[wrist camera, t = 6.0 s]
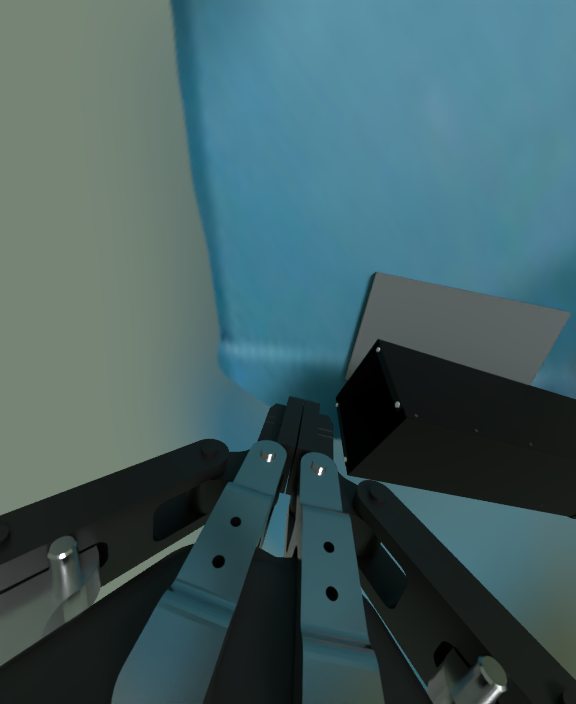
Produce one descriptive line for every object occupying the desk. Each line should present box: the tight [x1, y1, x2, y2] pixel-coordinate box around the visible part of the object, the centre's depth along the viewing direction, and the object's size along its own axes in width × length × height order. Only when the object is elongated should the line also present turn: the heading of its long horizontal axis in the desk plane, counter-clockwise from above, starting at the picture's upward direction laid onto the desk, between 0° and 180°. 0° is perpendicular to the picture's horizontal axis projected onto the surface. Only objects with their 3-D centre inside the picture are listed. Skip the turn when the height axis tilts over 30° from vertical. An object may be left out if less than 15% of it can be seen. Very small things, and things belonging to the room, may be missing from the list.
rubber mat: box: [345, 272, 571, 385], centre depth 30 cm, size 12×18×1 cm, turn 79°
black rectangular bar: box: [336, 339, 576, 519], centre depth 25 cm, size 8×8×28 cm
